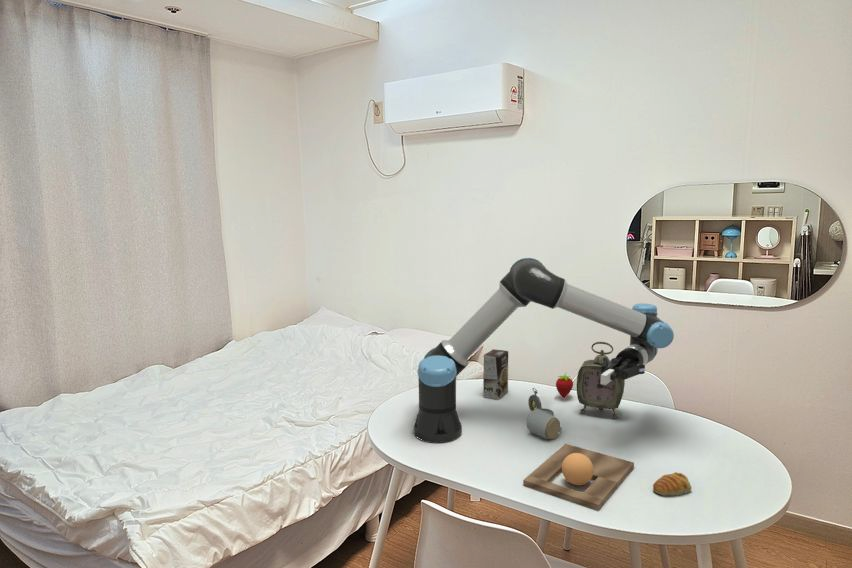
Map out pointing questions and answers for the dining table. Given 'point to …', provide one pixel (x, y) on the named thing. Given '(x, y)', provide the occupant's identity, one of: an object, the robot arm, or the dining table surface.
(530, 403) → the pocket watch
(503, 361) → the coffee box
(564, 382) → the strawberry
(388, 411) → the dining table surface
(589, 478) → the ball
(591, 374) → the tabletop clock
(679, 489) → the pastry
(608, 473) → the hole board
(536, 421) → the ceramic mug
